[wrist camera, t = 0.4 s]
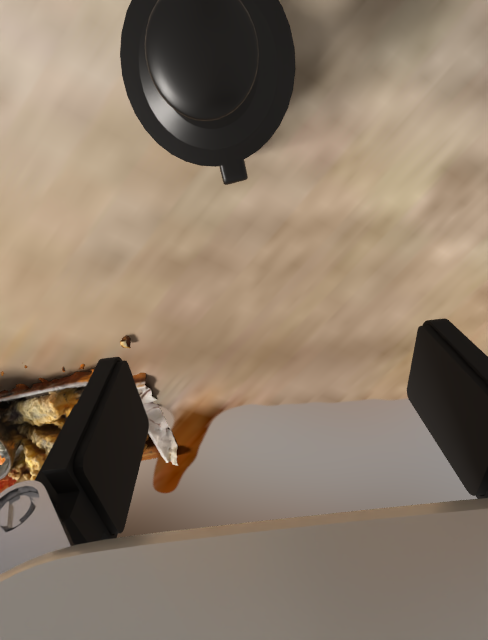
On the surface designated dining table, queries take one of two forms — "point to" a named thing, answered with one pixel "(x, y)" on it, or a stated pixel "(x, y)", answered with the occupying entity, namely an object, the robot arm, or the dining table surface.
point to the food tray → (61, 423)
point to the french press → (209, 76)
